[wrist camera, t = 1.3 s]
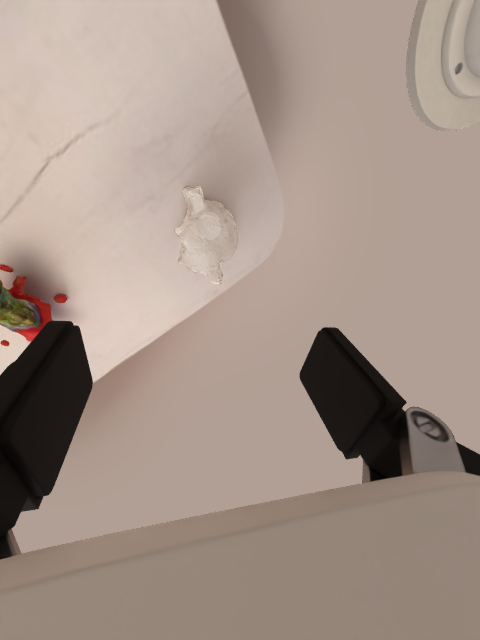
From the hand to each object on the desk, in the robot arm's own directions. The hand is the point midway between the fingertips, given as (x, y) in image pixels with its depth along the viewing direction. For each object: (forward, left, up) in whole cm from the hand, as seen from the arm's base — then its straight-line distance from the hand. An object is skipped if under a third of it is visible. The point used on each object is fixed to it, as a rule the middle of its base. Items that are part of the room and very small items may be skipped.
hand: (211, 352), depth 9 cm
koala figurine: (-1, -1, -23) cm, 23 cm away
